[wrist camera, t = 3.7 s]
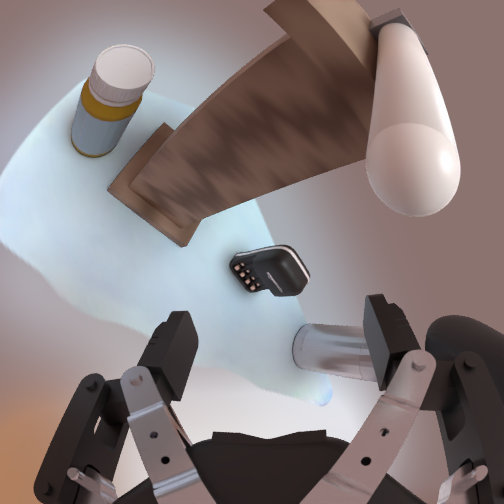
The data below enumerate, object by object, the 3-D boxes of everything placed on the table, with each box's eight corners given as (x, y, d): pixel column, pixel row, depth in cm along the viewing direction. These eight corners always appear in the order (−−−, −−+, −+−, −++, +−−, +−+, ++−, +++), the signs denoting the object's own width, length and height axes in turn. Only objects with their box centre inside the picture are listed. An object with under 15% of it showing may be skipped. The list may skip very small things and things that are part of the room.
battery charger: (222, 267, 43) (276, 260, 34) (237, 250, 45) (290, 240, 36) (248, 299, 45) (303, 300, 36) (261, 283, 47) (316, 280, 38)
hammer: (370, 20, 15) (399, 7, 13) (393, 52, 17) (421, 41, 15) (334, 170, 7) (445, 136, 4) (388, 246, 8) (475, 234, 6)
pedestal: (221, 180, 44) (418, 91, 20) (181, 247, 39) (430, 182, 14) (160, 127, 38) (334, -23, 13) (106, 190, 32) (293, -13, 8)
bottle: (127, 134, 34) (172, 69, 23) (95, 168, 31) (126, 106, 20) (94, 106, 31) (127, 33, 20) (60, 138, 28) (76, 63, 17)
